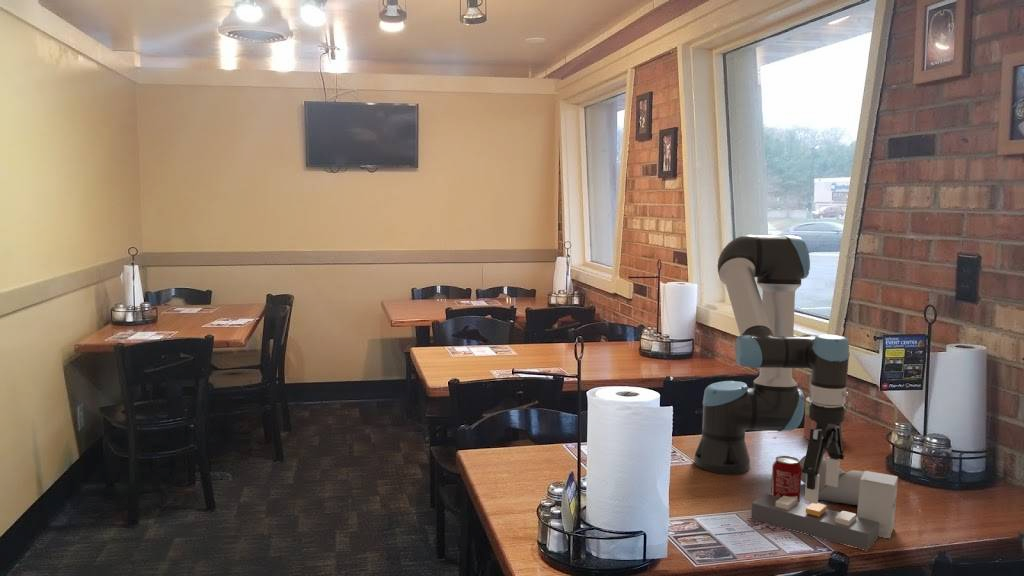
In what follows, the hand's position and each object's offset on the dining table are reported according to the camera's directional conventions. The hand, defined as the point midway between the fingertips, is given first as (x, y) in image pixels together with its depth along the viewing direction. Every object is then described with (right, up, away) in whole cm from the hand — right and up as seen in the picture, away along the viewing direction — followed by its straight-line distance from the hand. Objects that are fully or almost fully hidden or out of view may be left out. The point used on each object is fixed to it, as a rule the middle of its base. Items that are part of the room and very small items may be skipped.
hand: (821, 493), depth 187 cm
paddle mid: (-2, -4, -2) cm, 5 cm away
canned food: (+27, 0, +69) cm, 74 cm away
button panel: (-2, -8, -1) cm, 8 cm away
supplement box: (+12, -8, -1) cm, 14 cm away
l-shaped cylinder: (+11, -6, +20) cm, 24 cm away
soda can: (-4, -6, +12) cm, 14 cm away
